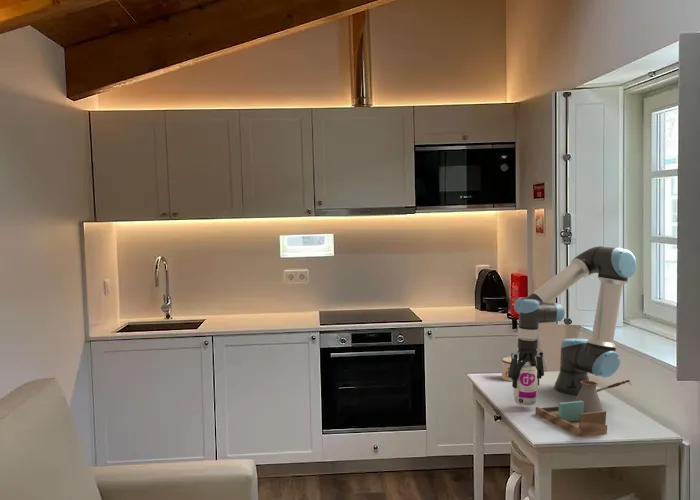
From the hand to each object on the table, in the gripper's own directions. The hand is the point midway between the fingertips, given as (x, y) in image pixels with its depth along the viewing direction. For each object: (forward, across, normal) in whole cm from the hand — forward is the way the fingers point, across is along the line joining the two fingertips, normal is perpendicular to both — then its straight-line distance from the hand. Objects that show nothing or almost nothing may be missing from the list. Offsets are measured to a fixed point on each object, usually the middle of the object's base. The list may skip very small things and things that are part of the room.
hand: (525, 394), depth 258 cm
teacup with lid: (+6, -22, -37) cm, 43 cm away
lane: (+6, -6, +20) cm, 21 cm away
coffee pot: (+6, -24, +16) cm, 29 cm away
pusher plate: (+4, -6, +20) cm, 21 cm away
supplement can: (+4, 0, 0) cm, 4 cm away
